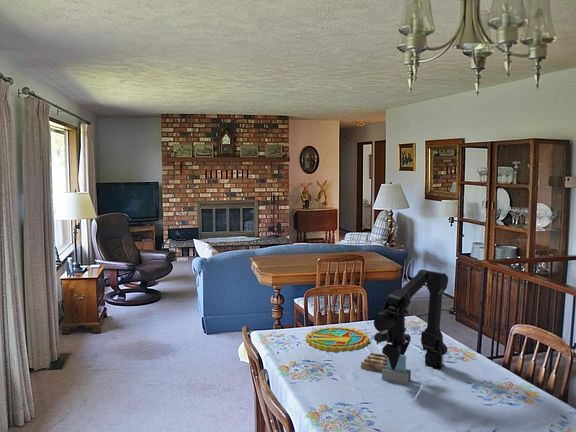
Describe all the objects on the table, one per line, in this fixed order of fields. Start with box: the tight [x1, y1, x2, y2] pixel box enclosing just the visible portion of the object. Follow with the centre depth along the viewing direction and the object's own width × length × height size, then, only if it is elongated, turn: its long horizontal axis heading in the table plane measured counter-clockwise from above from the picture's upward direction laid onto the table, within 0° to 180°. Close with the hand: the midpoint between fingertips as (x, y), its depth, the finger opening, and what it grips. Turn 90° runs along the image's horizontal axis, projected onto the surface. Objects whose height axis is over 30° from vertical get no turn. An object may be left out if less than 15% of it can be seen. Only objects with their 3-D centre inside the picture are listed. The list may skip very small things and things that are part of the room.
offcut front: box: [369, 355, 385, 362], centre depth 212 cm, size 6×2×4 cm, turn 62°
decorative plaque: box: [305, 326, 370, 353], centre depth 244 cm, size 30×3×30 cm
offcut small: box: [371, 359, 384, 365], centre depth 208 cm, size 5×2×4 cm, turn 62°
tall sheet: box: [387, 354, 407, 373], centre depth 197 cm, size 7×2×10 cm, turn 62°
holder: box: [381, 365, 412, 385], centre depth 198 cm, size 10×5×4 cm, turn 62°
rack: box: [359, 352, 387, 373], centre depth 212 cm, size 11×12×3 cm
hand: (396, 365), depth 197 cm, fingers open, 9 cm apart
